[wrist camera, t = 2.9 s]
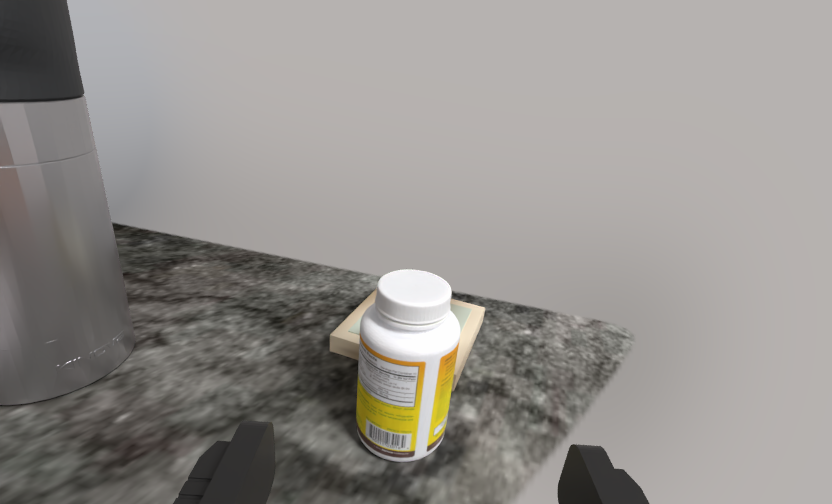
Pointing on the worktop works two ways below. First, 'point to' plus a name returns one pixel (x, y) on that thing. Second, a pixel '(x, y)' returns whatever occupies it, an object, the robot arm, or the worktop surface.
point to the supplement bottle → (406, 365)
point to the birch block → (467, 314)
